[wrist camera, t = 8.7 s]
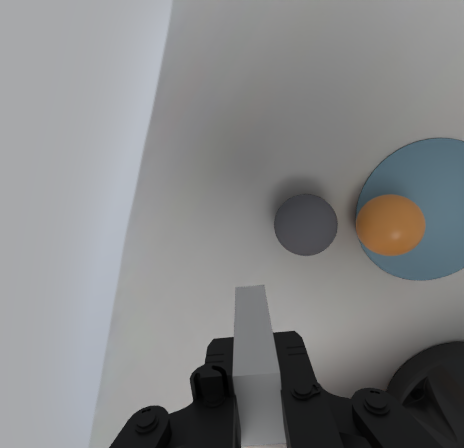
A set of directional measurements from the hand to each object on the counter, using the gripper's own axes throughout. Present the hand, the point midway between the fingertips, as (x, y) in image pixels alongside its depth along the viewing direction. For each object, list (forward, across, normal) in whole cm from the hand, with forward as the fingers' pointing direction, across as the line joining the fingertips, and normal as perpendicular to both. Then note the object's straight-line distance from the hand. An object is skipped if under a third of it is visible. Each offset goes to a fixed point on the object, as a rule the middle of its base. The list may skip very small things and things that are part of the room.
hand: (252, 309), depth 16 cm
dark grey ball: (+12, -5, -1) cm, 13 cm away
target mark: (+15, -18, 0) cm, 23 cm away
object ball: (+12, -13, 0) cm, 18 cm away
